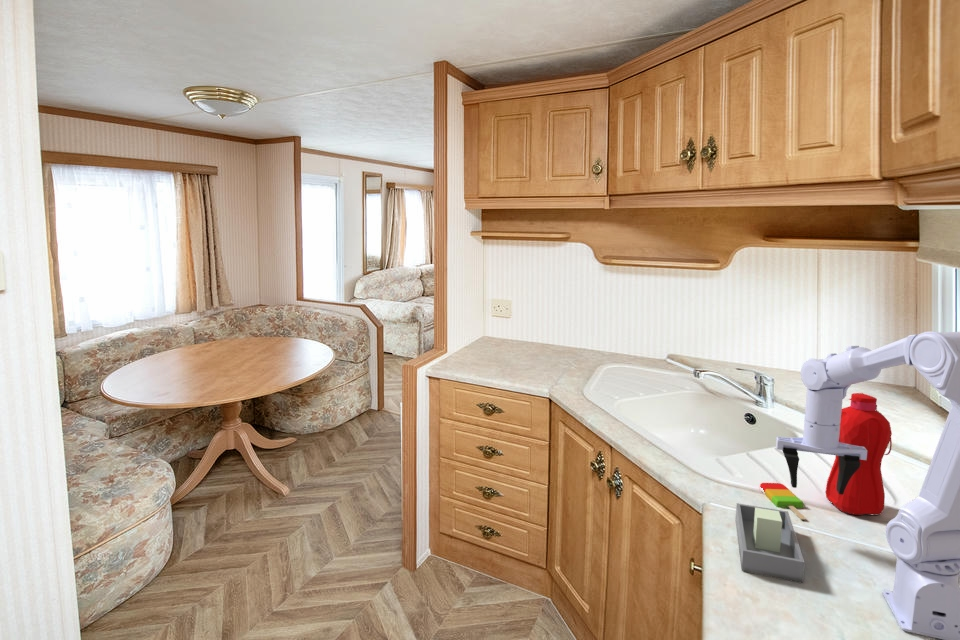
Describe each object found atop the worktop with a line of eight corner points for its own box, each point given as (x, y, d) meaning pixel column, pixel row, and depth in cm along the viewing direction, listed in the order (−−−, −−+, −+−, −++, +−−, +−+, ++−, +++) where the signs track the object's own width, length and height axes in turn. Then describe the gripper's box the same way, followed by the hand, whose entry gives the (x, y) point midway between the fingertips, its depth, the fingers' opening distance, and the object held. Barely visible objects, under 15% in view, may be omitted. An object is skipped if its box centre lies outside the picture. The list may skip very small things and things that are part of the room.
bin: (802, 583, 88) (804, 562, 87) (741, 570, 92) (743, 550, 91) (786, 529, 105) (788, 511, 104) (735, 520, 108) (736, 503, 108)
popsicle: (782, 490, 122) (782, 482, 122) (818, 524, 108) (818, 515, 107) (757, 489, 123) (758, 481, 122) (789, 523, 108) (790, 514, 108)
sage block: (779, 552, 95) (782, 521, 95) (755, 547, 97) (757, 517, 96) (776, 541, 99) (779, 511, 98) (753, 536, 101) (755, 507, 100)
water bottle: (899, 518, 108) (912, 401, 105) (843, 517, 109) (854, 400, 106) (870, 497, 117) (881, 389, 114) (818, 496, 118) (828, 388, 115)
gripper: (862, 419, 100) (855, 486, 102) (776, 410, 106) (771, 474, 108) (873, 431, 94) (866, 502, 96) (780, 421, 100) (775, 489, 102)
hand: (816, 488), depth 102 cm, fingers open, 7 cm apart
